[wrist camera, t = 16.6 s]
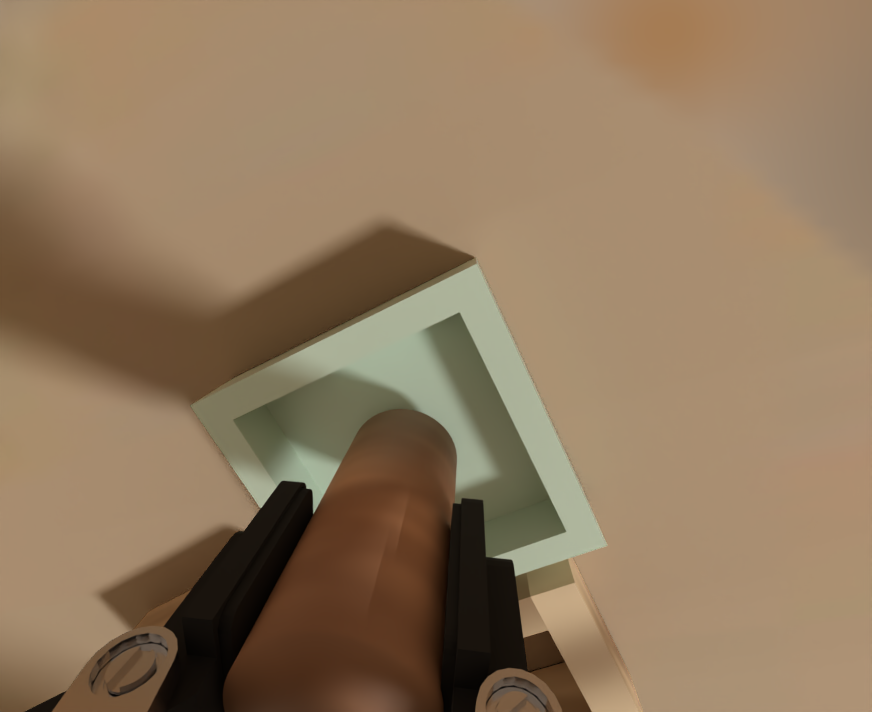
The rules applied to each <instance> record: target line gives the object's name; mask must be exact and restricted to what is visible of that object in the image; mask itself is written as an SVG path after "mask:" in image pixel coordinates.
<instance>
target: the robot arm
mask: <svg viewBox="0 0 872 712" xmlns="http://www.w3.org/2000/svg"><path fill="white" fill-rule="evenodd" d="M312 516H313V492H312V490H311V489H306V484H305V483H304V482H294V481H281V482H280V483H279V485H278V486H277V487H276V489H275V490H274V491H273V493H272V494H271V495H270V497H269V498H268V499H267V501H266V502H265V504H264V505H263V506H262V508H261V509H260V510H259V512H258V513H257V514H256V516H255V517H254V518H253V520H252V521H251V523H250V524H249V525H248V527H247V528H246V529H245V531H244V532H243V531H239V532H237V533H235V534H234V535H233V536H232V537H231V538H230V540H229V541H228V542H227V544H226V545H225V546H224V548H223V549H222V550H221V552H220V553H219V554H218V555H217V557H216V558H215V559H214V561H213V562H212V563H211V565H210V566H209V567H208V569H207V570H206V571H205V572H204V574H203V575H202V576H201V578H200V579H199V580H198V582H197V583H196V584H195V586H194V587H193V588H192V590H191V591H190V592H189V593H188V595H187V596H186V597H185V599H184V600H183V601H182V603H181V604H180V605H179V607H178V608H177V609H176V610H175V612H174V613H173V614H172V616H171V617H170V618H169V620H168V621H167V622H166V624H165V625H164V626H163V627H160V626H147V627H140V628H137V629H134V630H132V631H129V632H126V633H124V634H122V635H120V636H118V637H117V638H115V639H113V640H111V641H110V642H109V643H107V644H106V645H105V646H104V647H102V648H101V649H100V650H98V651H97V652H96V653H95V654H94V656H93V657H92V658H91V659H90V660H89V661H88V662H87V664H86V665H85V666H84V668H83V669H82V670H81V672H80V673H79V674H78V676H77V677H76V679H75V680H74V681H73V683H72V684H71V686H70V687H69V688H68V690H67V691H65V692H63V693H61V694H59V695H57V696H55V697H53V698H51V699H49V700H47V701H45V702H43V703H41V704H39V705H37V706H35V707H33V708H31V709H29V710H27V711H25V712H225V710H224V706H223V688H224V683H225V680H226V677H227V674H228V673H229V671H230V669H231V667H232V665H233V663H234V661H235V660H236V658H237V656H238V654H239V652H240V650H241V648H242V646H243V645H244V643H245V641H246V639H247V637H248V635H249V633H250V632H251V630H252V628H253V626H254V624H255V622H256V620H257V619H258V617H259V615H260V613H261V611H262V609H263V607H264V605H265V604H266V602H267V600H268V598H269V596H270V594H271V592H272V591H273V589H274V587H275V585H276V583H277V581H278V579H279V578H280V576H281V574H282V572H283V570H284V568H285V566H286V564H287V563H288V561H289V559H290V557H291V555H292V553H293V551H294V550H295V548H296V546H297V544H298V542H299V540H300V538H301V536H302V535H303V533H304V531H305V529H306V527H307V525H308V523H309V522H310V520H311V518H312ZM441 692H442V697H443V702H444V712H562V709H561V706H560V704H559V702H558V700H557V698H556V696H555V694H554V693H553V692H552V691H551V690H550V688H549V687H548V686H547V685H546V683H544V682H543V681H542V680H540V679H539V678H538V677H536V676H535V675H534V674H531V673H529V672H528V670H527V662H526V654H525V647H524V639H523V631H522V624H521V616H520V608H519V601H518V593H517V585H516V577H515V570H514V564H513V561H512V560H511V559H501V558H492V557H486V545H485V525H484V505H483V500H478V499H468V498H462V499H461V504H458V503H453V507H452V519H451V531H450V547H449V563H448V578H447V594H446V610H445V626H444V642H443V657H442V673H441Z"/></svg>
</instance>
